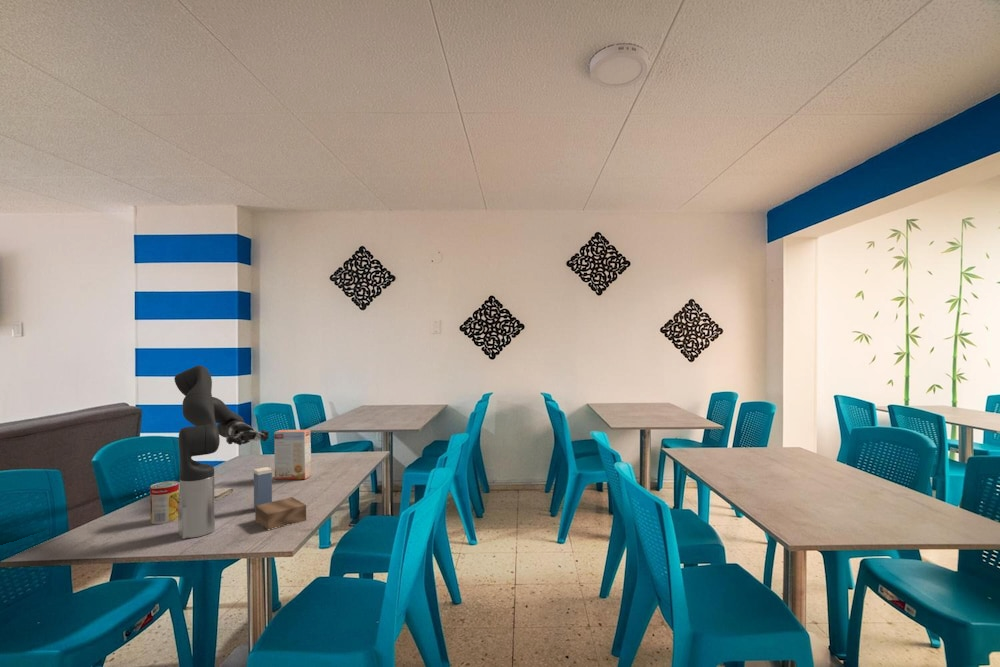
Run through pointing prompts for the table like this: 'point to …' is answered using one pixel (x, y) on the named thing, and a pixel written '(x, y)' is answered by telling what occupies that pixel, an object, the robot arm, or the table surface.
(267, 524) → the display plinth
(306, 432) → the cracker box
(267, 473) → the carton
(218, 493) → the washcloth
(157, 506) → the canned food
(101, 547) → the table surface
